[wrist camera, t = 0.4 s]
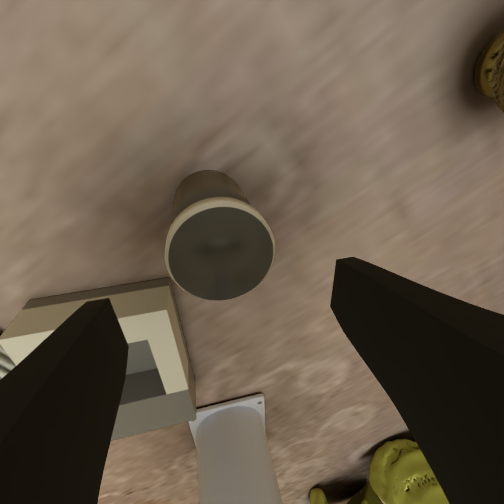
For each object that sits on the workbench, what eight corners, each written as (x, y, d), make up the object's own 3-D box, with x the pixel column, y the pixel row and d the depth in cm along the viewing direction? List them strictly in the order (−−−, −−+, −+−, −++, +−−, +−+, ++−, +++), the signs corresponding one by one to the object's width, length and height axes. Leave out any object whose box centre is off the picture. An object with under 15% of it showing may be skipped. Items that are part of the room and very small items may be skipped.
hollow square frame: (195, 381, 25) (196, 419, 22) (92, 405, 23) (78, 449, 20) (169, 277, 19) (166, 309, 16) (29, 300, 17) (-4, 340, 14)
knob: (246, 232, 19) (276, 293, 13) (179, 242, 18) (176, 311, 12) (242, 164, 16) (276, 198, 10) (164, 171, 15) (151, 212, 9)
